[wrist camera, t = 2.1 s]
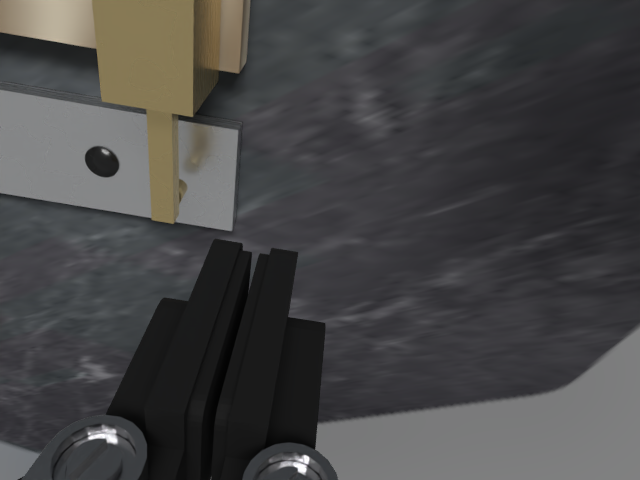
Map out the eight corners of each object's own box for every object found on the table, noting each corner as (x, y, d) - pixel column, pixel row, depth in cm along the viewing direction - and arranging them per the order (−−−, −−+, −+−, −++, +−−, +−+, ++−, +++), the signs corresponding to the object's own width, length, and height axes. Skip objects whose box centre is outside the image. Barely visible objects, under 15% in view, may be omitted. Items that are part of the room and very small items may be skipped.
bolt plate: (242, 122, 30) (237, 131, 29) (235, 221, 34) (231, 232, 33) (-175, 50, 30) (-196, 57, 29) (-132, 160, 34) (-148, 169, 33)
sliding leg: (222, -26, 24) (193, -6, 20) (214, 196, 31) (192, 244, 27) (135, -42, 24) (89, -24, 20) (146, 185, 31) (114, 231, 27)
